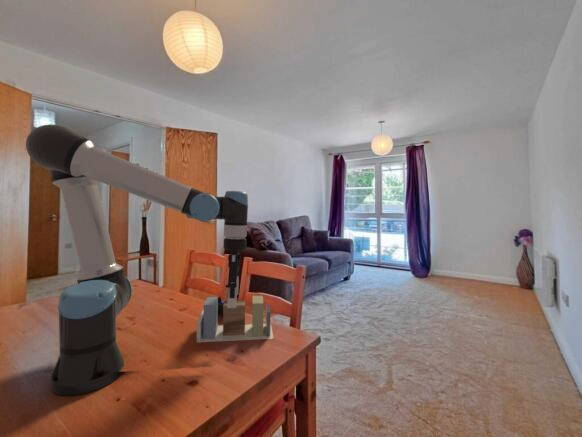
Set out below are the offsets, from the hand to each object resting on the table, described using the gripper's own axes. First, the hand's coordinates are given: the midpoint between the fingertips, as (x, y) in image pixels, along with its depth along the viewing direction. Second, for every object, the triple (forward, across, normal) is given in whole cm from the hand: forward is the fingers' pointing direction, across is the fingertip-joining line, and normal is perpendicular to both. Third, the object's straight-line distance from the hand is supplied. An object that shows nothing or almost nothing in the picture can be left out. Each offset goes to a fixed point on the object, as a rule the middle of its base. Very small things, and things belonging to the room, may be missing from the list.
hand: (233, 300), depth 96 cm
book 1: (+11, 0, +7) cm, 13 cm away
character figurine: (+13, +17, +4) cm, 22 cm away
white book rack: (+12, 0, -2) cm, 12 cm away
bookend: (+10, 0, -12) cm, 16 cm away
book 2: (+11, 0, -1) cm, 11 cm away
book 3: (+11, 0, -8) cm, 14 cm away
